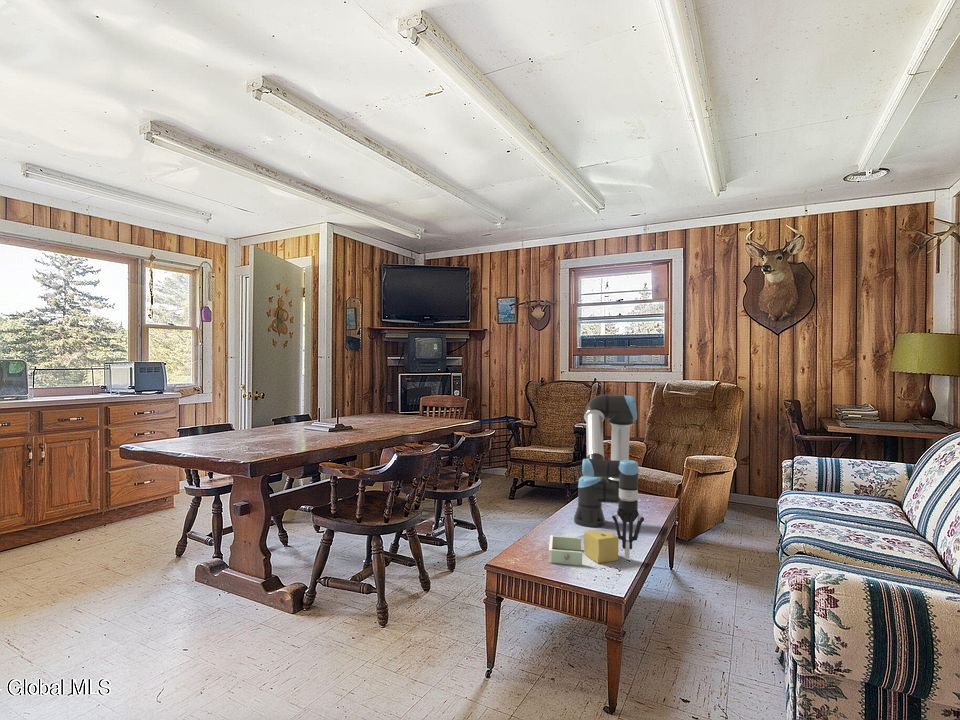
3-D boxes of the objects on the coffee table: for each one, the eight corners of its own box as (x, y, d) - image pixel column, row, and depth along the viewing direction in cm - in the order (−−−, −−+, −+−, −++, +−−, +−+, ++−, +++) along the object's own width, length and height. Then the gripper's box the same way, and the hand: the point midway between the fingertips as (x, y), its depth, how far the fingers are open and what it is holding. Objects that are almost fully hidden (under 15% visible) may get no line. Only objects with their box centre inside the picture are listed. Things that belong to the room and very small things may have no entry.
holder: (550, 546, 222) (550, 534, 222) (580, 548, 220) (581, 537, 220) (548, 563, 203) (548, 550, 203) (582, 566, 201) (582, 553, 201)
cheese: (604, 551, 217) (604, 528, 217) (619, 561, 207) (620, 536, 207) (582, 554, 213) (583, 530, 213) (597, 564, 203) (598, 539, 203)
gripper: (612, 500, 206) (611, 558, 206) (646, 502, 204) (644, 561, 204) (610, 495, 213) (609, 552, 213) (643, 497, 211) (642, 554, 211)
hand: (626, 556), depth 208 cm, fingers closed
